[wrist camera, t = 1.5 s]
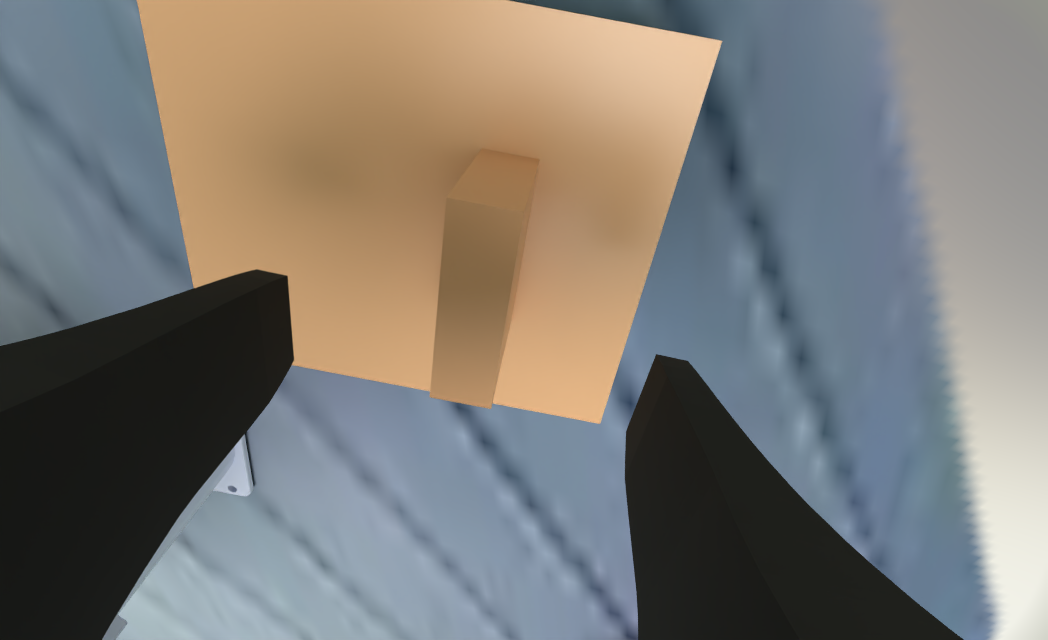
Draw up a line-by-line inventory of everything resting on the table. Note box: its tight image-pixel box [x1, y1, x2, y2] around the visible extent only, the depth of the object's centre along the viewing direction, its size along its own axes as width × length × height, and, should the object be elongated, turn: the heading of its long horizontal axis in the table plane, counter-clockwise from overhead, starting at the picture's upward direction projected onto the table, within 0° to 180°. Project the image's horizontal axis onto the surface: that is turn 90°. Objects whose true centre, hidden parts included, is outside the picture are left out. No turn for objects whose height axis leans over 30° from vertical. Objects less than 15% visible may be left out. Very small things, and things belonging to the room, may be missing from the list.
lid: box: [137, 0, 722, 424], centre depth 14 cm, size 14×12×5 cm
